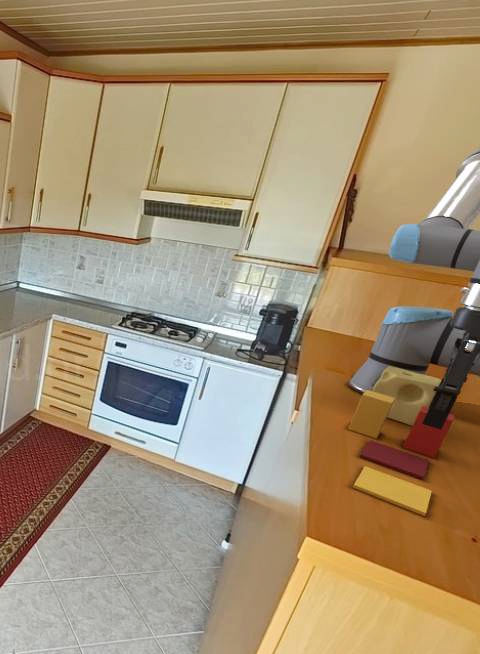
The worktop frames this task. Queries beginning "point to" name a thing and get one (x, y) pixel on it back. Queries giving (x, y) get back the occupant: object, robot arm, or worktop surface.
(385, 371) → the cheese
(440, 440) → the red block
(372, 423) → the yellow block
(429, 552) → the worktop surface
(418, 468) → the red mat
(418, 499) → the yellow mat
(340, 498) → the worktop surface
